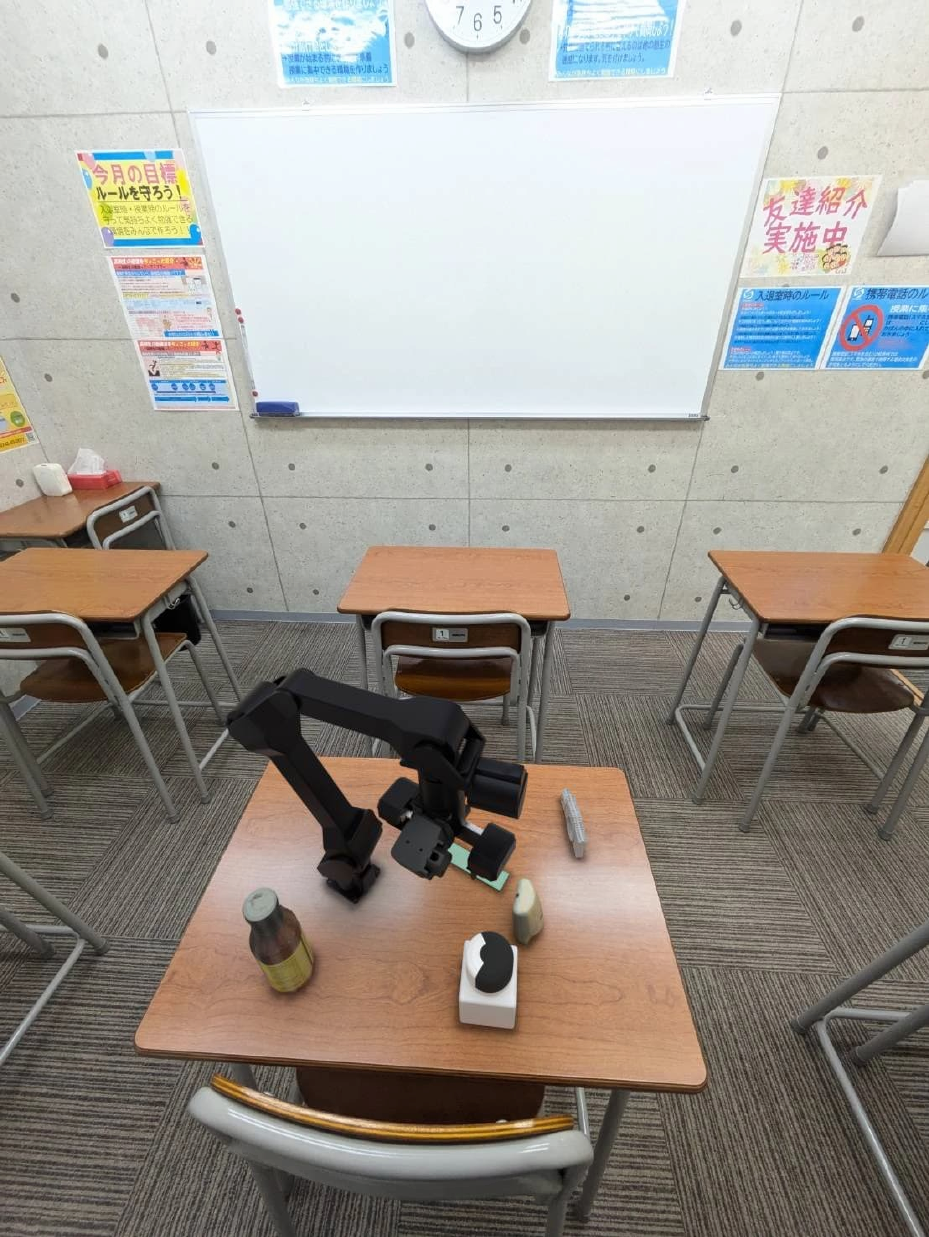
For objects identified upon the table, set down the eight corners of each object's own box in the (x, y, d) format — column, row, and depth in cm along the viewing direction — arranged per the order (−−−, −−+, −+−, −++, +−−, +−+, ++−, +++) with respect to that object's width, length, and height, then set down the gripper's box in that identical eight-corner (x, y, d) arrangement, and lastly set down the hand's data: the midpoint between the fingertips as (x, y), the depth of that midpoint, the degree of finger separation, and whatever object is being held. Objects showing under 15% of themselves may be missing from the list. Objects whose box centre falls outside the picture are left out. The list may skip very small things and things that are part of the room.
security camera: (515, 969, 73) (519, 926, 66) (514, 1030, 67) (518, 990, 61) (465, 963, 74) (464, 920, 67) (459, 1023, 68) (457, 983, 61)
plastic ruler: (423, 846, 89) (423, 845, 89) (433, 832, 91) (433, 831, 91) (499, 891, 82) (499, 890, 82) (509, 874, 85) (509, 873, 84)
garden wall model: (559, 799, 96) (562, 778, 93) (569, 799, 97) (572, 778, 93) (574, 860, 86) (578, 839, 83) (585, 859, 87) (589, 838, 83)
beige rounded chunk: (501, 910, 80) (502, 882, 75) (532, 900, 81) (535, 871, 77) (515, 949, 75) (518, 921, 71) (548, 937, 77) (552, 908, 72)
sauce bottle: (278, 947, 76) (245, 872, 65) (321, 948, 76) (294, 873, 65) (263, 999, 70) (223, 926, 59) (308, 1000, 70) (276, 928, 59)
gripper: (341, 803, 63) (358, 874, 71) (473, 881, 55) (474, 951, 63) (398, 744, 71) (406, 814, 79) (520, 804, 62) (515, 875, 71)
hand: (446, 860), depth 73 cm, fingers open, 9 cm apart
